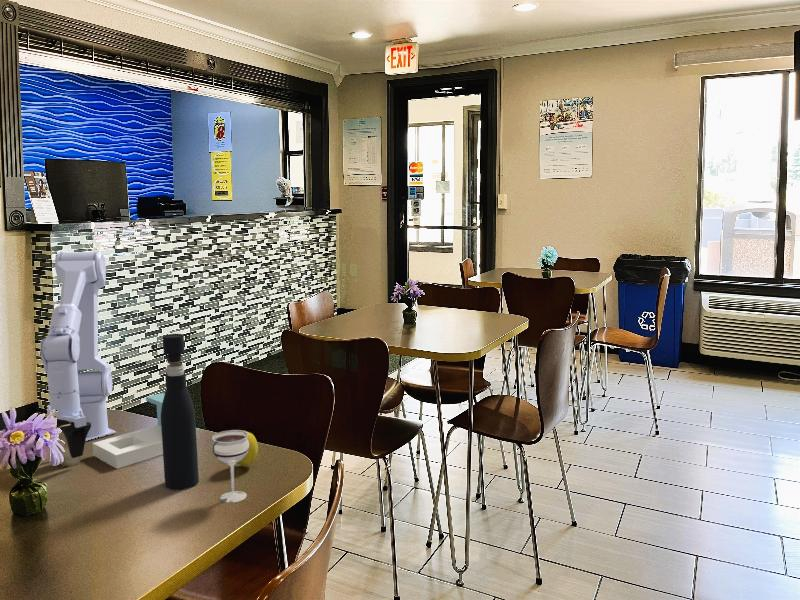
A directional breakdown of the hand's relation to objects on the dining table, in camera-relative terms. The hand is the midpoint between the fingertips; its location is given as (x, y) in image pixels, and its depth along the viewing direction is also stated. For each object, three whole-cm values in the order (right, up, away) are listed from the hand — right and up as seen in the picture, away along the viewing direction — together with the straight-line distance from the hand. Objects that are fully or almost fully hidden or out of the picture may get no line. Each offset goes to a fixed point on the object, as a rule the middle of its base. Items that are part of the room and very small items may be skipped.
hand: (69, 452), depth 142 cm
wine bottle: (+28, -4, -10) cm, 30 cm away
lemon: (+38, -3, -3) cm, 39 cm away
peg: (0, -2, 0) cm, 2 cm away
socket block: (+13, -1, +7) cm, 15 cm away
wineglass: (+39, -5, -17) cm, 43 cm away
